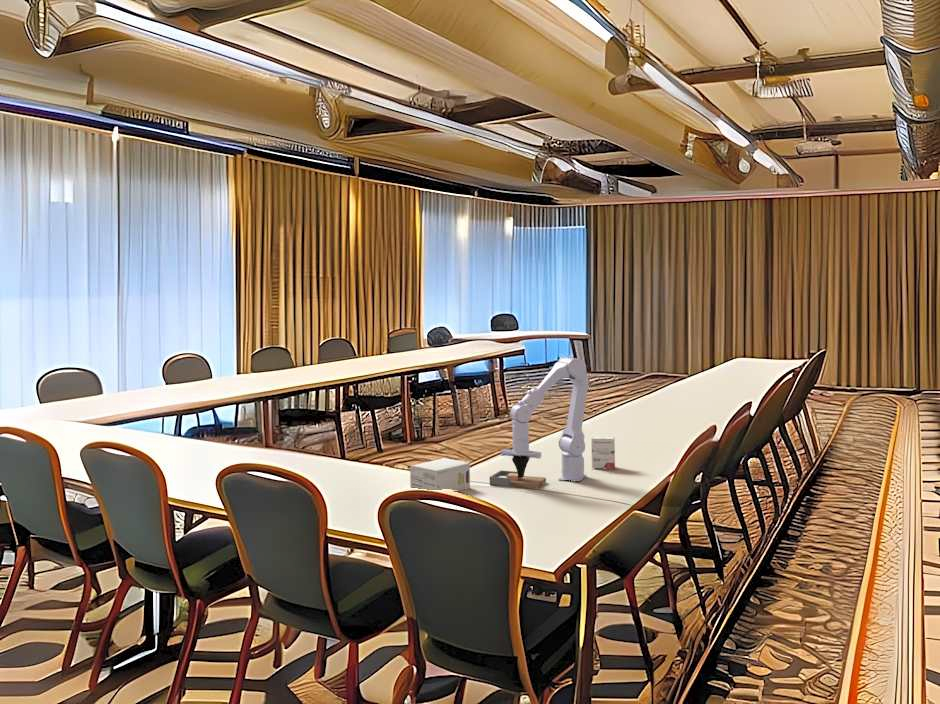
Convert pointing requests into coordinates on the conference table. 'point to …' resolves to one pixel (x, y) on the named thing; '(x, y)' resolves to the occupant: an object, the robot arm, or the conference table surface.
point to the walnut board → (528, 482)
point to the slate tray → (501, 478)
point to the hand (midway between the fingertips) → (521, 477)
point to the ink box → (603, 452)
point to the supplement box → (440, 475)
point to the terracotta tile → (513, 476)
